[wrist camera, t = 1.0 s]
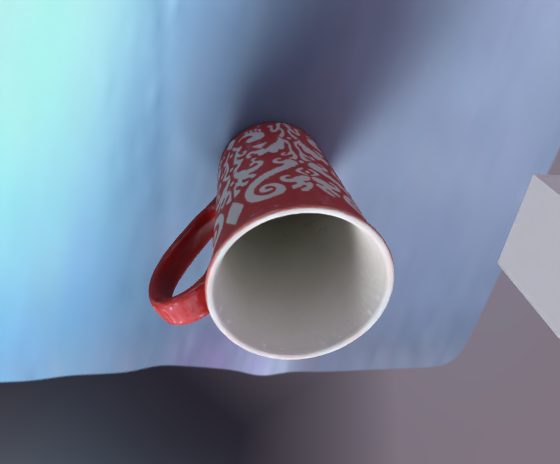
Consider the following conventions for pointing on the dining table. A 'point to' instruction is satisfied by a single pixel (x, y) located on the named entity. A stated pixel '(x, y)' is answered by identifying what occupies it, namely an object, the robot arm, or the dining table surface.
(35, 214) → the dining table surface
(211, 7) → the dining table surface
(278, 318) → the mug
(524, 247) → the robot arm
